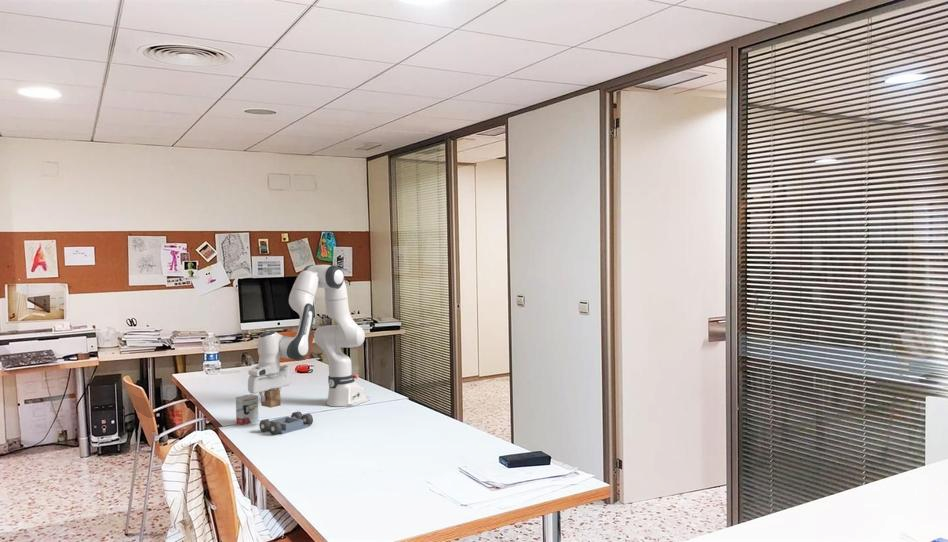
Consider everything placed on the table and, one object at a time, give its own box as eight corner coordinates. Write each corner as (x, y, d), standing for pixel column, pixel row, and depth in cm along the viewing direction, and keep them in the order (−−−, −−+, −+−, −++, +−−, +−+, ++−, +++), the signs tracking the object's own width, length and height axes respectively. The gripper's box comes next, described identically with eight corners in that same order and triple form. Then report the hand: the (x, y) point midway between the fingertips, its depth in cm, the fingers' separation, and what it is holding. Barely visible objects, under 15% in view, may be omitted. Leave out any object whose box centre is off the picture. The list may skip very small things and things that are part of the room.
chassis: (296, 421, 302) (295, 410, 302) (313, 425, 295) (313, 414, 295) (258, 431, 287) (258, 419, 287) (276, 435, 280) (276, 423, 280)
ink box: (242, 425, 298) (241, 398, 298) (235, 423, 301) (235, 397, 301) (259, 421, 305) (258, 395, 305) (252, 419, 308) (251, 393, 308)
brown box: (271, 403, 302) (270, 385, 302) (280, 405, 298) (279, 387, 298) (261, 405, 298) (260, 388, 298) (271, 407, 294) (270, 390, 294)
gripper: (284, 363, 307) (285, 393, 308) (245, 371, 291) (246, 403, 292) (293, 364, 304) (294, 395, 304) (253, 373, 287) (255, 405, 288)
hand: (270, 399), depth 298 cm, fingers closed on brown box, 5 cm apart
